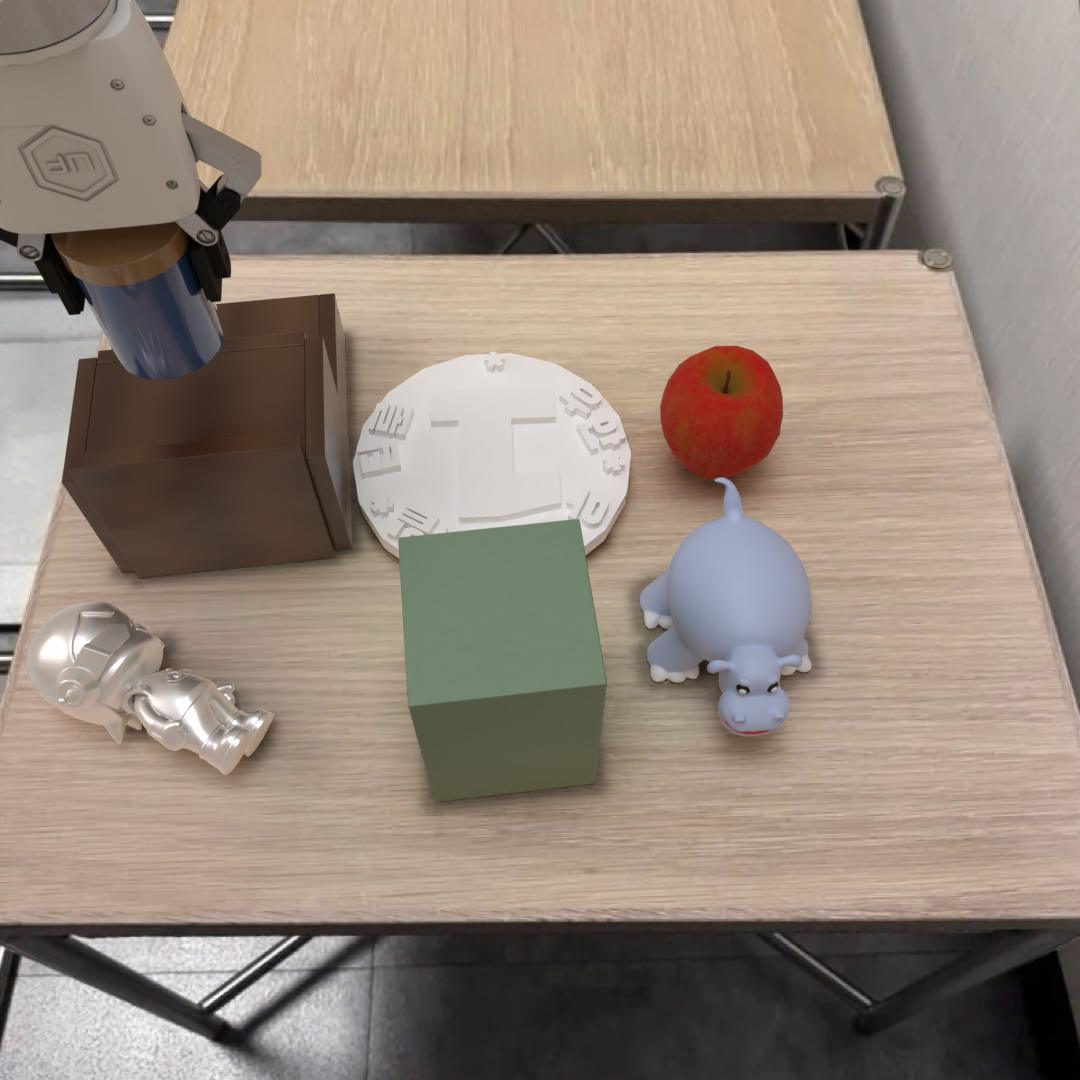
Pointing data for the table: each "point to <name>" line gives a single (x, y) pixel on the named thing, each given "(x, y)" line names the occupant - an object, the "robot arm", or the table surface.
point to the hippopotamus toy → (733, 616)
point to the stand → (502, 658)
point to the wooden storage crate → (220, 447)
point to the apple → (722, 411)
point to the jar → (145, 297)
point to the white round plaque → (491, 451)
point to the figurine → (137, 686)
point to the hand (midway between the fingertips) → (147, 288)
